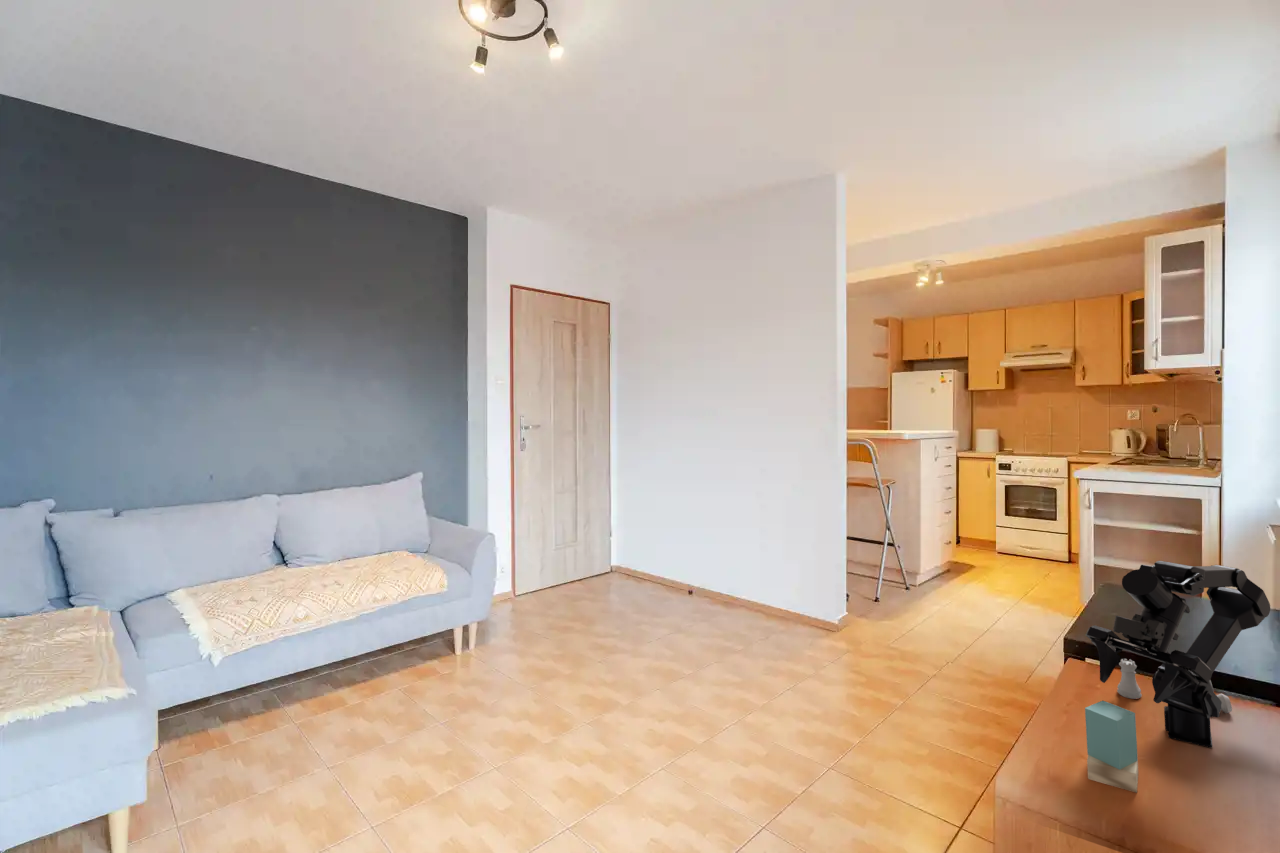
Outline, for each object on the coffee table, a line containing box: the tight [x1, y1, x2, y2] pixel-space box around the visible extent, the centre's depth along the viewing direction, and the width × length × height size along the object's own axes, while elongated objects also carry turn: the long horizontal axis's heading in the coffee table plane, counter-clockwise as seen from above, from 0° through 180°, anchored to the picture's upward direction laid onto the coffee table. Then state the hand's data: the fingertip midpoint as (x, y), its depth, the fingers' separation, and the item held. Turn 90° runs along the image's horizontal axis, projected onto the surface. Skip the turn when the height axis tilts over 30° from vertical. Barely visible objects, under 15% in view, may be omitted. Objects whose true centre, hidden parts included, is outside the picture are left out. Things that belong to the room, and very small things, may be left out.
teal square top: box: [1084, 700, 1139, 770], centre depth 111 cm, size 5×5×9 cm
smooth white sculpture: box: [1216, 693, 1233, 714], centre depth 130 cm, size 4×8×5 cm
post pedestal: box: [1086, 754, 1139, 794], centre depth 111 cm, size 7×7×7 cm
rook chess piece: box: [1116, 658, 1143, 700], centre depth 138 cm, size 4×4×8 cm
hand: (1127, 691), depth 114 cm, fingers open, 9 cm apart
